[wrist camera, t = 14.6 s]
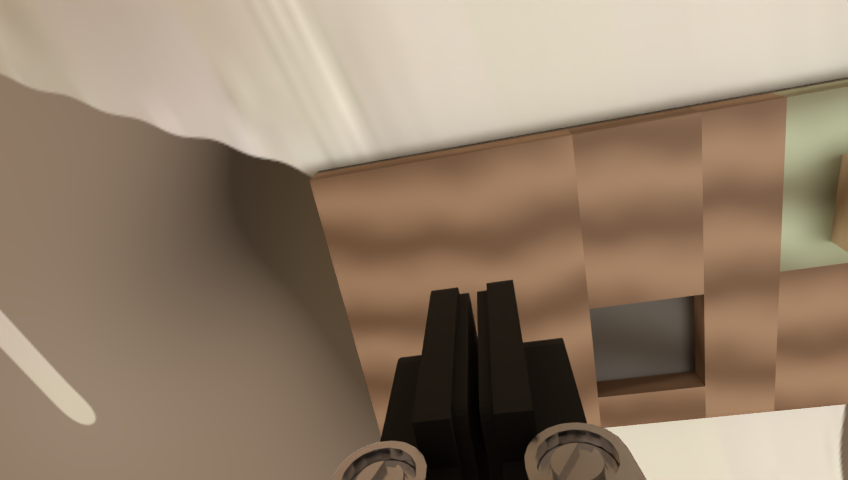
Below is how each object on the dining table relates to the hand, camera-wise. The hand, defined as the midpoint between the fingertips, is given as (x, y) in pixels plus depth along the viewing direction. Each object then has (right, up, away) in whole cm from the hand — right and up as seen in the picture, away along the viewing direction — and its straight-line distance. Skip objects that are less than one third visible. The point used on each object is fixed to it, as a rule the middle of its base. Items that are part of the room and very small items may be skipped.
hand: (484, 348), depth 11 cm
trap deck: (+19, 0, +30) cm, 35 cm away
